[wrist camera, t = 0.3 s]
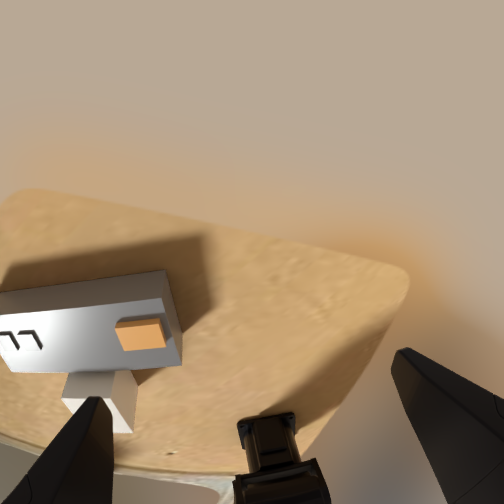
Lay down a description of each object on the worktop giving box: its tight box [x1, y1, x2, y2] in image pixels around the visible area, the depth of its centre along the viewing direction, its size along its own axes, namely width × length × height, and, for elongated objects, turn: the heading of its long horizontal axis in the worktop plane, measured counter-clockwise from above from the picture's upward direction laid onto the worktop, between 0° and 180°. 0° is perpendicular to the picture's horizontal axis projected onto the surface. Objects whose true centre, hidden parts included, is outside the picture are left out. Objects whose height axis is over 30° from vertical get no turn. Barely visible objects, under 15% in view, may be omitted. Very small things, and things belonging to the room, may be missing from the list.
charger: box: [61, 370, 138, 433], centre depth 22 cm, size 8×4×6 cm, turn 4°
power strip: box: [0, 270, 182, 373], centre depth 20 cm, size 6×16×4 cm, turn 94°
